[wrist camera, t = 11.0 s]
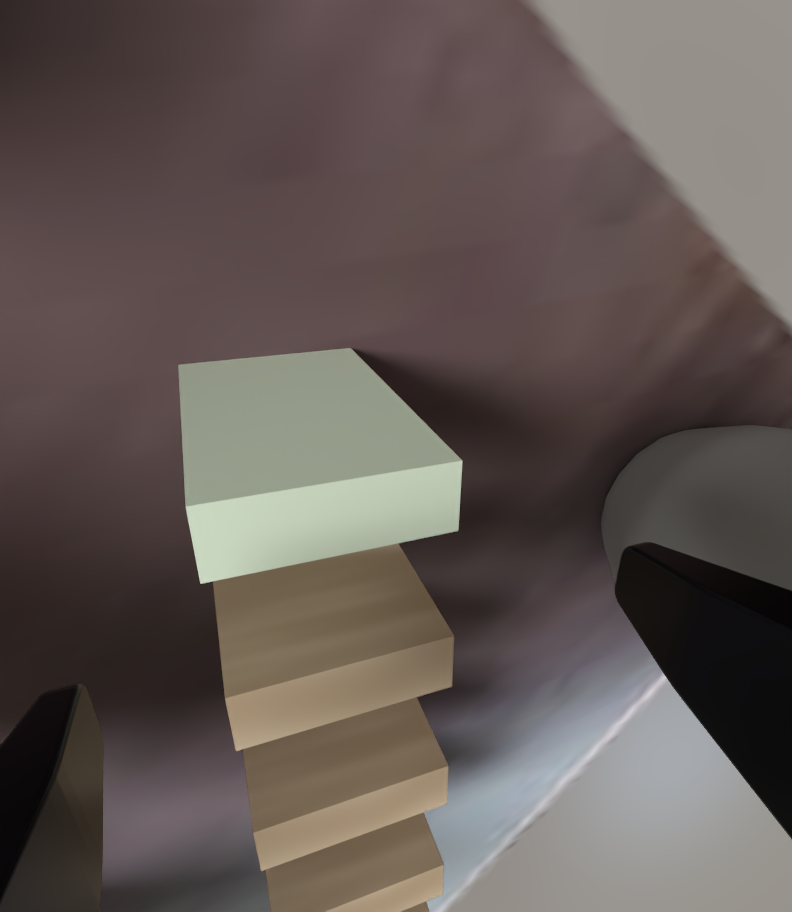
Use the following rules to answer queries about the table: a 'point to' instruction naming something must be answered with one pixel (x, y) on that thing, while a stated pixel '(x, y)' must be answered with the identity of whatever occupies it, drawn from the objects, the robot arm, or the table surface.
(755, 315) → the table surface
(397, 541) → the domino
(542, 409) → the table surface
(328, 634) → the domino
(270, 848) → the domino
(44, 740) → the robot arm
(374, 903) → the domino
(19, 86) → the table surface
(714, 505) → the cup
